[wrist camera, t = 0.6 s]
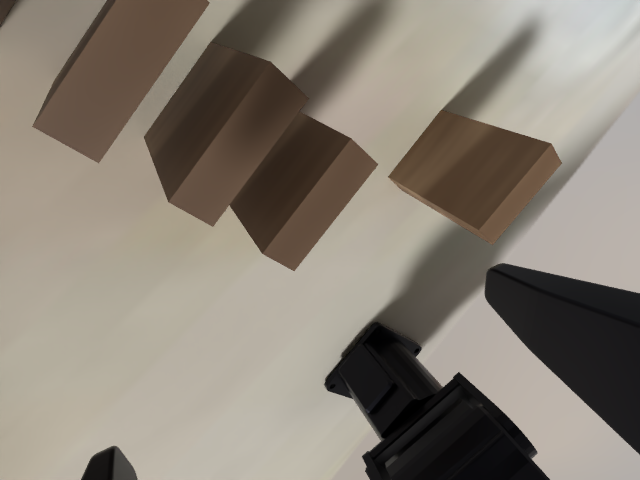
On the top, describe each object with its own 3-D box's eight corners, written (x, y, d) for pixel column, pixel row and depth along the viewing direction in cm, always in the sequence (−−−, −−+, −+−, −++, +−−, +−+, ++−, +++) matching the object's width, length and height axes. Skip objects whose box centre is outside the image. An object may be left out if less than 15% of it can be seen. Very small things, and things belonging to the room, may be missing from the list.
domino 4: (453, 126, 25) (562, 163, 19) (402, 190, 26) (492, 244, 20) (441, 110, 24) (551, 143, 19) (388, 177, 25) (478, 230, 19)
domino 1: (166, 2, 16) (209, 2, 10) (96, 106, 17) (98, 162, 11) (128, -32, 15) (151, -53, 9) (54, 80, 16) (32, 126, 10)
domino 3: (297, 118, 21) (378, 164, 15) (238, 197, 21) (294, 271, 15) (274, 98, 20) (351, 138, 14) (213, 181, 20) (262, 253, 14)
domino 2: (239, 68, 18) (308, 98, 12) (175, 157, 19) (213, 226, 13) (210, 41, 17) (270, 61, 12) (143, 137, 18) (168, 202, 12)
